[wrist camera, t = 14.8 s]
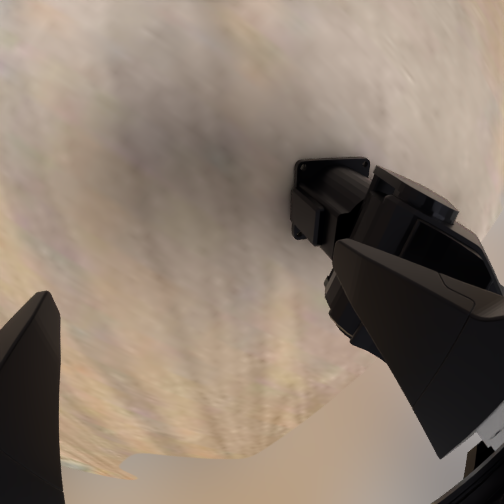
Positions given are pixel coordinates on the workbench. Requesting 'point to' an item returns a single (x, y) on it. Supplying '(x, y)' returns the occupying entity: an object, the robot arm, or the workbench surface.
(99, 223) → the workbench surface
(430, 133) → the workbench surface
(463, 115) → the workbench surface
